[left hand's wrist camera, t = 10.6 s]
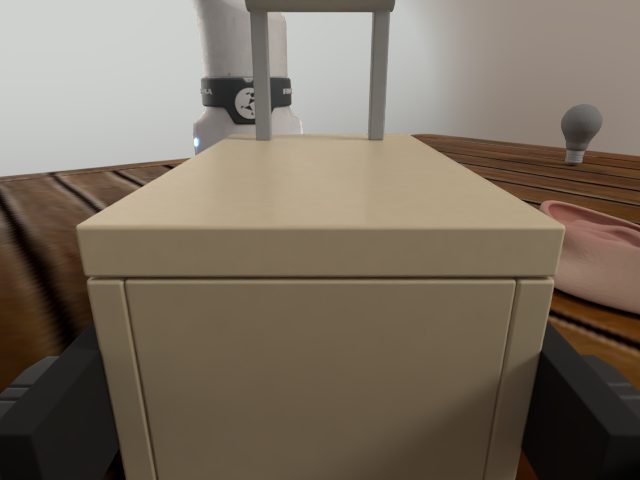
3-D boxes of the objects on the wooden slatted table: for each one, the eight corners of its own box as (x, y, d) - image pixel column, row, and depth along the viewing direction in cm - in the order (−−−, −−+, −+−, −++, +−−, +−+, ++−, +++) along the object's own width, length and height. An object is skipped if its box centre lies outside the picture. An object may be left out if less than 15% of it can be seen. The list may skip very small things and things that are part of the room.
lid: (232, 154, 24) (220, -18, 21) (407, 154, 24) (419, -18, 21) (83, 278, 9) (-29, -270, 6) (557, 278, 9) (669, -270, 6)
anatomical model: (773, 271, 23) (537, 242, 28) (747, 335, 25) (527, 298, 29) (687, 209, 35) (530, 195, 39) (673, 254, 36) (523, 236, 40)
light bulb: (562, 166, 74) (573, 105, 70) (548, 160, 79) (558, 103, 76) (599, 167, 73) (613, 105, 70) (583, 161, 79) (595, 103, 75)
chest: (242, 319, 27) (231, 156, 23) (397, 319, 27) (408, 156, 23) (149, 605, 12) (83, 281, 9) (491, 604, 12) (557, 280, 9)
